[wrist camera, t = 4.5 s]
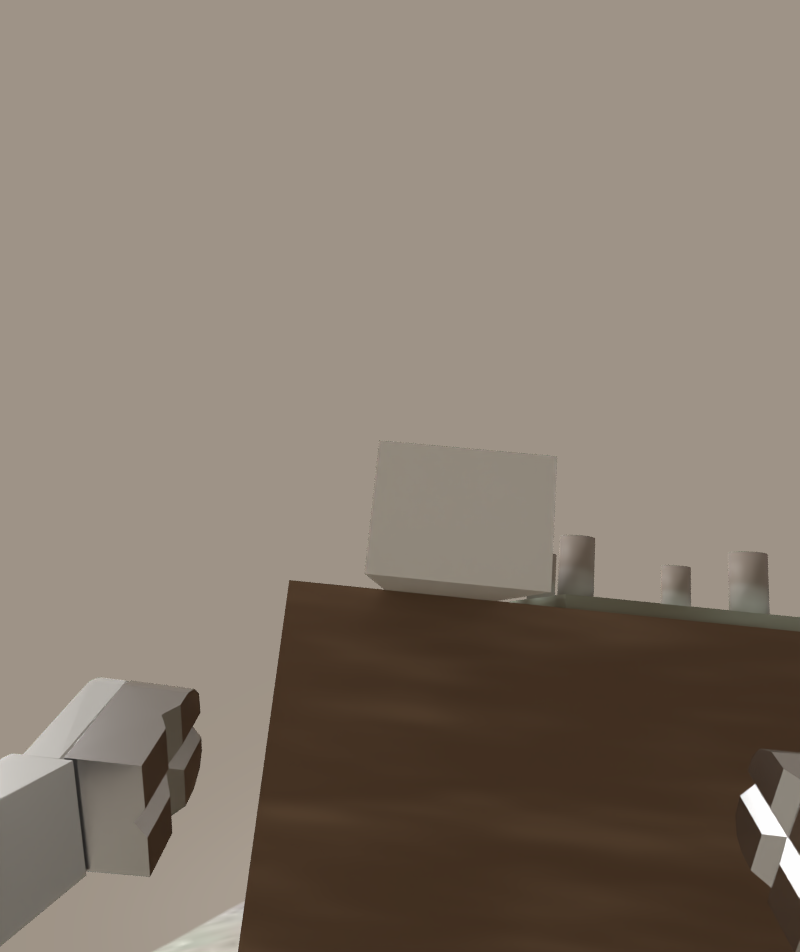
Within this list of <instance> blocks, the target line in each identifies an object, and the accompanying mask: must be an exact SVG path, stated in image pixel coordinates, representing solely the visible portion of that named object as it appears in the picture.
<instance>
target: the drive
mask: <svg viewBox="0 0 800 952" xmlns="http://www.w3.org/2000/svg"><path fill="white" fill-rule="evenodd" d="M556 469H557V456H548V455H537V454H525V453H514V452H503V451H492V450H481V449H470V448H459V447H447V446H435V445H424V444H413V443H402V442H391V441H379V448H378V458H377V467H376V476H375V484H374V493H373V503H372V511H371V520H370V530H369V538H368V547H367V556H366V565H365V574H366V575H367V576H368V577H370V578H371V579H372V580H373V581H374V582H376V583H377V584H378V585H380V586H381V587H382V588H383V589H384V590H391V591H401V592H411V593H421V594H431V595H441V596H450V597H460V598H470V599H480V600H490V601H499V600H505V599H512V598H518V597H525V596H531V595H537V594H543V593H549V592H551V583H552V561H553V538H554V514H555V491H556Z"/></svg>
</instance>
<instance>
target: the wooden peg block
mask: <svg viewBox="0 0 800 952" xmlns="http://www.w3.org/2000/svg"><path fill="white" fill-rule="evenodd" d="M559 548H560V549H559V570H558V594H557V595H555V576H556V574H555V573H556V554H553V561H552V583H551V592H549V593H543V594H537V595H531V596H527V599H525V600H518V601H510V602H500V601H490V600H480V599H470V598H460V597H450V596H441V595H431V594H421V593H411V592H401V591H391V590H381V589H370V588H361V587H351V586H341V585H331V584H321V583H311V582H301V581H291V580H290V581H289V587H288V594H287V601H286V609H285V616H284V623H283V630H282V638H281V645H280V652H279V659H278V667H277V674H276V682H275V688H274V695H273V703H272V710H271V717H270V724H269V732H268V739H267V746H266V754H265V761H264V768H263V776H262V782H261V790H260V797H259V804H258V811H257V818H256V827H255V833H254V841H253V848H252V855H251V862H250V869H249V876H248V884H247V891H246V899H245V905H244V913H243V920H242V927H241V934H240V941H239V949H238V952H794V951H793V950H792V948H791V946H790V944H789V942H788V940H787V938H786V936H785V934H784V933H783V931H782V929H781V927H780V925H779V923H778V921H777V919H776V918H775V916H774V914H773V912H772V910H771V908H770V906H769V904H768V902H767V901H768V897H769V892H770V888H771V887H770V886H769V885H767V884H766V883H765V882H764V881H763V880H761V879H760V878H759V877H758V876H757V875H756V874H754V873H753V872H752V871H751V870H750V868H749V866H748V864H747V862H746V860H745V858H744V856H743V854H742V852H741V848H740V845H739V842H738V839H737V833H736V819H735V814H736V810H737V806H738V802H739V798H740V795H742V794H743V793H744V792H745V791H747V790H748V789H749V788H751V787H752V786H753V785H755V783H754V782H753V780H752V778H751V776H750V774H749V772H748V768H749V765H750V762H751V759H752V756H753V755H754V754H755V753H756V752H757V751H758V750H759V748H761V749H771V750H781V751H791V752H800V617H790V616H780V615H770V613H769V585H768V557H767V556H768V555H767V554H765V553H760V552H745V551H744V552H743V551H741V552H740V551H739V552H729V553H728V576H729V610H720V609H710V608H699V607H691V568H690V567H687V566H677V565H663V566H661V604H660V603H650V602H639V601H630V600H620V599H610V598H600V597H593V593H594V559H595V538H593V537H589V536H582V535H563V536H560V546H559Z"/></svg>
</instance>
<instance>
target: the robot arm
mask: <svg viewBox="0 0 800 952" xmlns="http://www.w3.org/2000/svg"><path fill="white" fill-rule="evenodd" d="M199 714H200V702H199V693H198V692H197V691H196V690H195V689H191V688H183V687H175V686H168V685H160V684H152V683H144V682H137V681H130V682H129V681H125V680H117V679H109V678H100V677H99V678H96V679H93V680H91V681H89V682H88V683H87V684H86V685H85V686H84V688H83V689H82V690H81V691H80V692H79V693H78V694H77V695H76V696H75V697H74V698H73V700H72V701H71V702H70V703H69V704H68V705H67V706H66V707H65V708H64V709H63V711H62V712H61V713H60V714H59V715H58V716H57V717H56V718H55V719H54V721H53V722H52V723H51V724H50V725H49V726H48V727H47V728H46V729H45V731H44V732H43V733H42V734H41V735H40V736H39V737H38V738H37V739H36V741H35V742H34V743H33V744H32V745H31V746H30V747H29V748H28V749H27V750H26V752H25V753H24V754H23V755H21V754H10V755H8V756H6V757H4V758H2V759H0V946H1V945H2V944H4V943H5V942H6V941H7V940H9V939H10V938H11V937H12V936H13V935H15V934H16V933H17V932H18V931H19V930H21V929H22V928H23V927H24V926H25V925H27V924H28V923H29V922H30V921H32V920H33V919H34V918H35V917H36V916H38V915H39V914H40V913H41V912H43V911H44V910H45V909H46V908H47V907H49V906H50V905H51V904H52V903H53V902H54V901H56V900H57V899H58V898H60V897H61V896H62V895H63V894H64V893H66V892H67V891H68V890H69V889H70V888H71V887H73V886H74V885H75V884H76V883H78V882H79V881H80V880H81V879H83V878H84V877H85V876H86V871H88V872H101V873H111V874H123V875H135V876H146V877H150V876H151V874H152V872H153V870H154V868H155V866H156V864H157V862H158V860H159V858H160V856H161V854H162V852H163V850H164V848H165V846H166V844H167V842H168V840H169V838H170V836H171V834H172V822H171V816H172V815H173V814H175V813H176V812H178V811H179V810H180V809H182V808H183V807H185V806H186V804H187V802H188V800H189V798H190V795H191V793H192V791H193V789H194V786H195V782H196V779H197V776H198V772H199V768H200V761H201V752H202V749H201V748H202V747H201V736H200V735H199V734H198V733H197V731H196V730H195V729H194V727H193V725H194V723H195V721H196V719H197V717H198V716H199ZM748 772H749V774H750V776H751V778H752V780H753V782H754V783H755V785H753V786H752V787H751V788H749V789H748V790H747V791H745V792H744V793H743V794H742V795H740V798H739V802H738V806H737V810H736V814H735V819H736V833H737V839H738V842H739V845H740V848H741V852H742V854H743V856H744V858H745V860H746V862H747V864H748V866H749V868H750V870H751V871H752V872H753V873H754V874H756V875H757V876H758V877H759V878H760V879H761V880H763V881H764V882H765V883H766V884H767V885H769V886H770V887H771V888H770V892H769V897H768V901H767V902H768V904H769V906H770V908H771V910H772V912H773V914H774V916H775V918H776V919H777V921H778V923H779V925H780V927H781V929H782V931H783V933H784V934H785V936H786V938H787V940H788V942H789V944H790V946H791V948H792V950H793V951H794V952H800V752H791V751H781V750H771V749H761V748H759V750H758V751H757V752H756V753H755V754H754V755H753V756H752V759H751V762H750V765H749V768H748Z"/></svg>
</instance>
